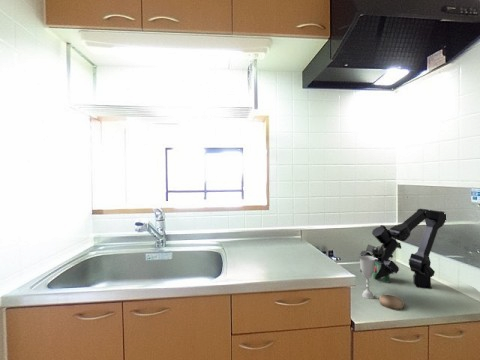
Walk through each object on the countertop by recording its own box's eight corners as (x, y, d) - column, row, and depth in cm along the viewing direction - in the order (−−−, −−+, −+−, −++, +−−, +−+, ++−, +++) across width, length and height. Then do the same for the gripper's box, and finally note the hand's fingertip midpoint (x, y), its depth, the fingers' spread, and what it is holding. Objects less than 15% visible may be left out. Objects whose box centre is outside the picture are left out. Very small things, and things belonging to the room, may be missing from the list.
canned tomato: (392, 282, 139) (392, 261, 138) (377, 282, 139) (377, 261, 138) (384, 276, 147) (384, 256, 146) (370, 276, 147) (370, 257, 146)
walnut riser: (400, 301, 119) (400, 296, 119) (405, 311, 111) (405, 305, 111) (378, 298, 122) (378, 293, 122) (381, 308, 114) (381, 302, 114)
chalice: (369, 301, 120) (368, 261, 119) (356, 295, 126) (355, 257, 125) (379, 297, 123) (378, 258, 123) (366, 291, 129) (365, 254, 129)
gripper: (362, 234, 135) (344, 258, 132) (393, 243, 117) (372, 271, 114) (375, 248, 137) (358, 272, 134) (407, 259, 119) (388, 287, 116)
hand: (368, 275), depth 124 cm, fingers open, 9 cm apart
